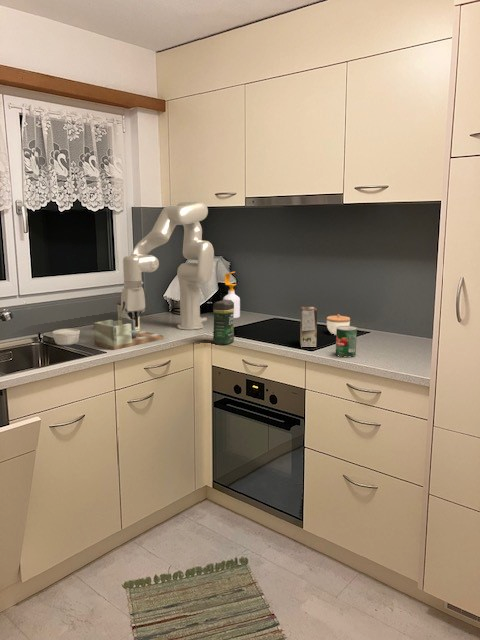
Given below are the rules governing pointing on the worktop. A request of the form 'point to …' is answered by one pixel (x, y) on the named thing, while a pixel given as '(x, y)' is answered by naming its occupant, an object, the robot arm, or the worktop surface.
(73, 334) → the ramekin
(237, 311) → the soap bottle
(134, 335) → the trolley
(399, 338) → the worktop surface
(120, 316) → the coffee can
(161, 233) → the robot arm
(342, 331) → the canned tomato
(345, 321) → the lidded jar
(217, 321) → the coffee jar
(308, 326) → the coffee box
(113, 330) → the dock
